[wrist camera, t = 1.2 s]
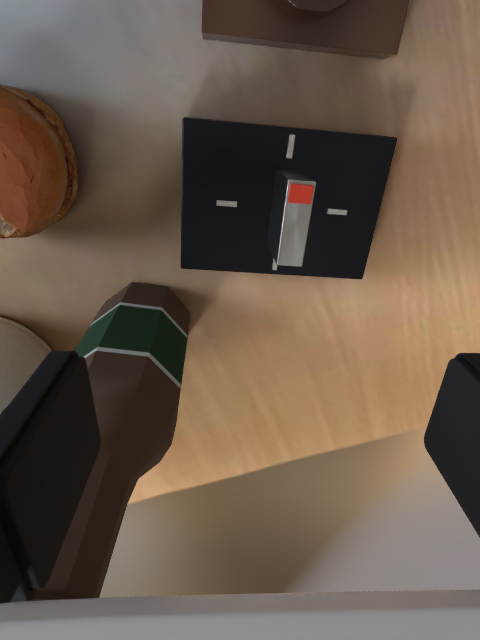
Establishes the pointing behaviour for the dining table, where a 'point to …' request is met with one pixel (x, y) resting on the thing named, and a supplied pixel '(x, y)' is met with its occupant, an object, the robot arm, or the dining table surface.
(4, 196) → the burger
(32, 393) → the robot arm
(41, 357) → the jug
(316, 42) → the brown button base
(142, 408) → the beer bottle
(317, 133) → the panel
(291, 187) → the knob
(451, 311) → the dining table surface
